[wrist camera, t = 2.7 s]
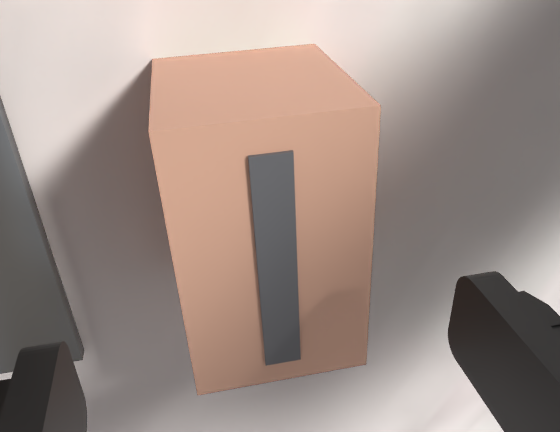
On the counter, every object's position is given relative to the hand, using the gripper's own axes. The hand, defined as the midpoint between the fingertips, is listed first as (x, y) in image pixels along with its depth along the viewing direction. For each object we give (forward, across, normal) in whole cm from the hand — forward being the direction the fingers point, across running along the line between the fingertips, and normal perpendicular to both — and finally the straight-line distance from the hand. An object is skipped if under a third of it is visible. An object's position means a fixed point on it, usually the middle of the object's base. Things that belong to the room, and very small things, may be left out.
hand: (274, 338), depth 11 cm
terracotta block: (+9, -1, 0) cm, 9 cm away
